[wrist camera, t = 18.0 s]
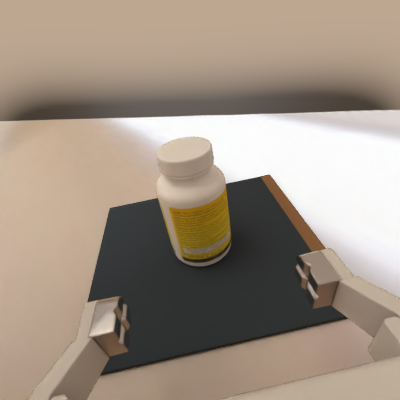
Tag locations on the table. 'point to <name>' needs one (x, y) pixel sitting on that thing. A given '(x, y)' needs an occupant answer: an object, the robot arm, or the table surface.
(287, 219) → the mat
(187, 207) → the supplement bottle
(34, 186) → the table surface
